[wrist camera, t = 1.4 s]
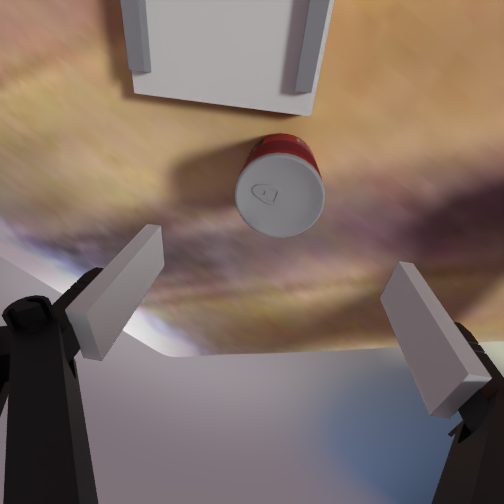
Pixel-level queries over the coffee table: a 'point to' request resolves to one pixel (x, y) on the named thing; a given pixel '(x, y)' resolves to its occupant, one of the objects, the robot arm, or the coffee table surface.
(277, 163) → the canned food
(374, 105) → the coffee table surface
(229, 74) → the dock
